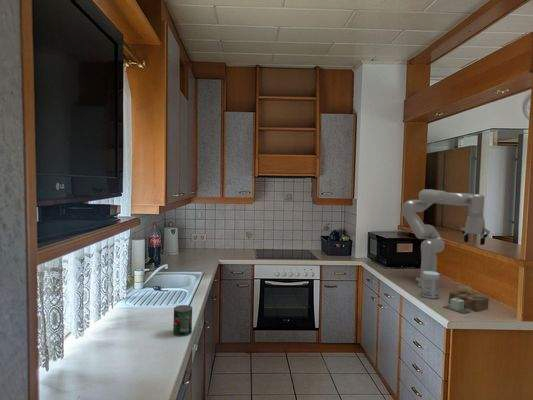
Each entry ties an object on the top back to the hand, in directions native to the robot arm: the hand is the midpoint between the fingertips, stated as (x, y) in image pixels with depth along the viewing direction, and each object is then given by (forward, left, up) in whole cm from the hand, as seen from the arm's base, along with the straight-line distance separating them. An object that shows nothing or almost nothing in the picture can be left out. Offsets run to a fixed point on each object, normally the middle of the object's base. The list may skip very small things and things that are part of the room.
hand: (474, 243), depth 237 cm
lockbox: (+8, -16, -33) cm, 38 cm away
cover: (+9, -28, -33) cm, 44 cm away
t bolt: (+4, -12, -27) cm, 30 cm away
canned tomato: (-29, -171, -34) cm, 177 cm away
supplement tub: (-13, -21, -34) cm, 42 cm away
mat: (+9, -28, -33) cm, 45 cm away
